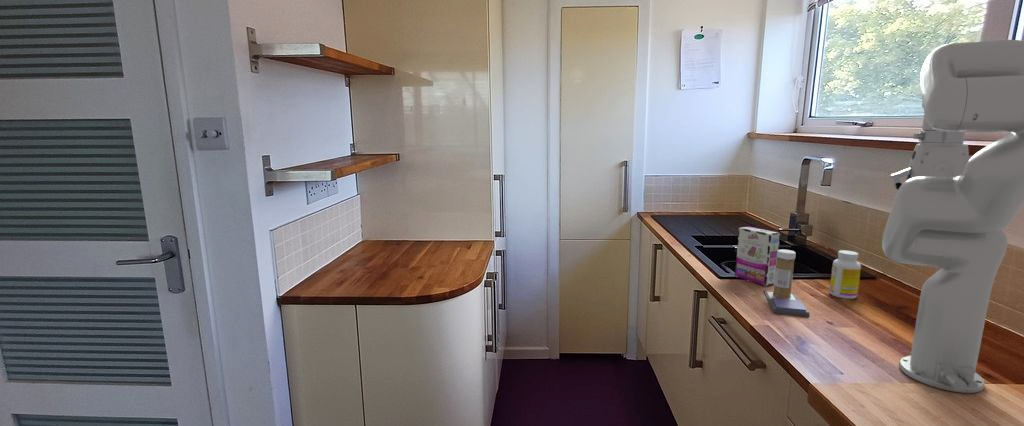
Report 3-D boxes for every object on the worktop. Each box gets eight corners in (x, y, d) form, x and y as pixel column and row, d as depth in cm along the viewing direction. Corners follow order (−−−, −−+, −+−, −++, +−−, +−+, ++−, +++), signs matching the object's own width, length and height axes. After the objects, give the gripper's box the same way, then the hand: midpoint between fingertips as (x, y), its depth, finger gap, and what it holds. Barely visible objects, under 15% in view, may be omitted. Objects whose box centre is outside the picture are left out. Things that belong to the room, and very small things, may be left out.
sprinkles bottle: (793, 297, 136) (799, 251, 133) (785, 300, 133) (790, 253, 131) (777, 292, 139) (782, 248, 137) (769, 295, 137) (774, 250, 134)
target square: (800, 304, 132) (800, 303, 132) (768, 300, 134) (768, 299, 134) (794, 294, 139) (794, 293, 139) (763, 291, 142) (763, 290, 142)
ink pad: (808, 316, 123) (809, 311, 123) (774, 313, 126) (774, 307, 126) (801, 305, 131) (802, 299, 130) (768, 302, 133) (769, 296, 133)
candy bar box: (776, 284, 147) (781, 232, 144) (765, 287, 145) (770, 234, 142) (744, 274, 157) (748, 225, 154) (733, 276, 155) (738, 227, 152)
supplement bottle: (862, 297, 136) (868, 254, 133) (846, 301, 134) (852, 256, 131) (839, 290, 142) (844, 248, 140) (823, 293, 140) (828, 250, 137)
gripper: (903, 138, 109) (892, 212, 113) (999, 139, 104) (985, 216, 107) (889, 137, 116) (880, 206, 120) (979, 137, 111) (966, 210, 114)
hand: (929, 211), depth 113 cm, fingers open, 9 cm apart
